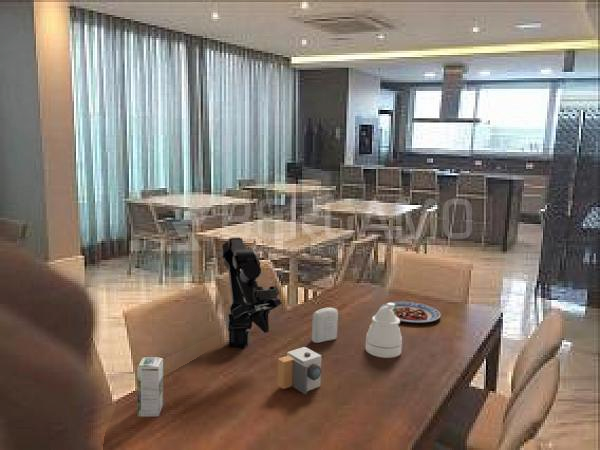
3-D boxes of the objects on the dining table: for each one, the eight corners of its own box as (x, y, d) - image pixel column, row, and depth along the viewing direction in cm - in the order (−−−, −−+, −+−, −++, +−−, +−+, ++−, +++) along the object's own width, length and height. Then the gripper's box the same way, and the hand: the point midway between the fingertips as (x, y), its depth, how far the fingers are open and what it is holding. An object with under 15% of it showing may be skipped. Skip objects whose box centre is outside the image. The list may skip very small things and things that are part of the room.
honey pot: (408, 350, 182) (411, 303, 179) (388, 361, 173) (391, 311, 170) (378, 340, 191) (381, 294, 188) (358, 349, 182) (361, 301, 178)
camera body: (285, 382, 155) (286, 350, 153) (303, 376, 160) (304, 344, 158) (306, 395, 148) (307, 362, 146) (324, 388, 152) (325, 356, 150)
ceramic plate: (447, 314, 223) (448, 307, 223) (428, 331, 202) (429, 324, 201) (393, 302, 237) (393, 296, 236) (370, 317, 215) (370, 311, 214)
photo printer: (331, 335, 194) (333, 304, 192) (338, 339, 190) (340, 307, 188) (309, 340, 188) (311, 308, 186) (316, 344, 185) (317, 312, 183)
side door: (277, 385, 151) (278, 358, 150) (287, 381, 154) (288, 355, 152) (295, 397, 144) (296, 369, 143) (306, 393, 147) (307, 366, 146)
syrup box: (142, 406, 139) (141, 356, 137) (163, 405, 140) (163, 356, 137) (137, 417, 133) (136, 366, 131) (160, 417, 134) (159, 366, 132)
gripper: (247, 279, 153) (266, 327, 149) (284, 275, 168) (301, 318, 164) (223, 294, 158) (241, 341, 154) (261, 288, 174) (277, 331, 170)
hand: (267, 332), depth 160 cm, fingers closed
